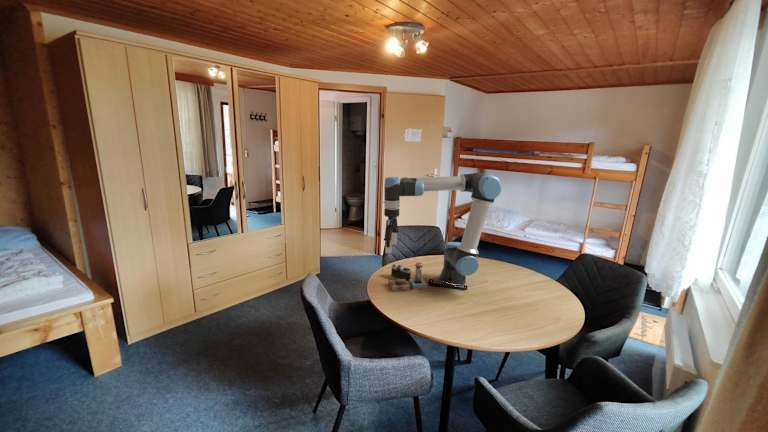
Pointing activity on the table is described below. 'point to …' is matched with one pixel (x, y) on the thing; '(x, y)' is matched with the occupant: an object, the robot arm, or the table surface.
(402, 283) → the dock block
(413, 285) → the plate
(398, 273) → the camera
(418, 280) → the lock pin
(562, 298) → the table surface
